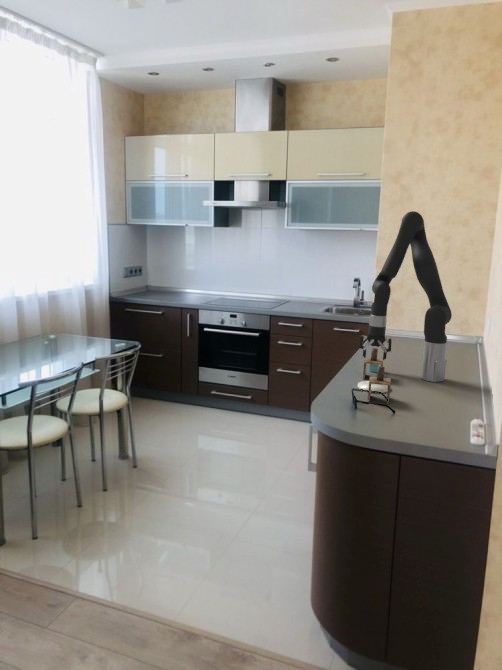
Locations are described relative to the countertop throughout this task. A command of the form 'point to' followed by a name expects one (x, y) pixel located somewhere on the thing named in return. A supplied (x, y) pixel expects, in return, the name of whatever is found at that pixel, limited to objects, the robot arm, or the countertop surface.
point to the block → (373, 367)
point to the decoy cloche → (380, 381)
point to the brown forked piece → (372, 360)
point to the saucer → (372, 386)
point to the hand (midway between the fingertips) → (374, 358)
